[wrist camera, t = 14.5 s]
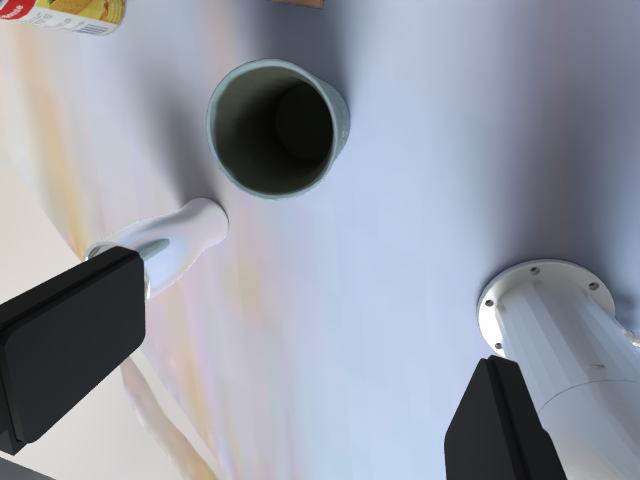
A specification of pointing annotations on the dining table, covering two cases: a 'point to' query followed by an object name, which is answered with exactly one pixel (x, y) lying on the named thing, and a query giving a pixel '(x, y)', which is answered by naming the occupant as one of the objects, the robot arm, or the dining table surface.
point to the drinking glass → (275, 128)
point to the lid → (304, 3)
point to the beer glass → (169, 242)
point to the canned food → (67, 14)
